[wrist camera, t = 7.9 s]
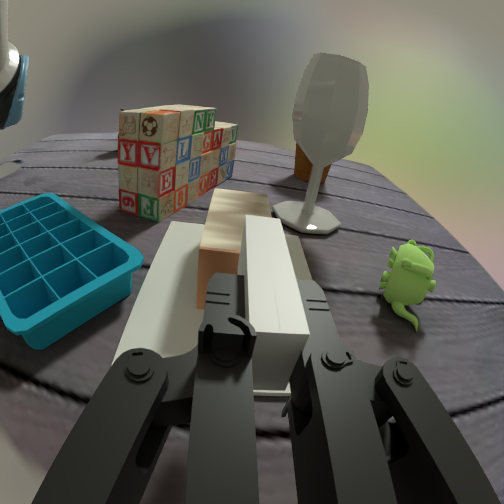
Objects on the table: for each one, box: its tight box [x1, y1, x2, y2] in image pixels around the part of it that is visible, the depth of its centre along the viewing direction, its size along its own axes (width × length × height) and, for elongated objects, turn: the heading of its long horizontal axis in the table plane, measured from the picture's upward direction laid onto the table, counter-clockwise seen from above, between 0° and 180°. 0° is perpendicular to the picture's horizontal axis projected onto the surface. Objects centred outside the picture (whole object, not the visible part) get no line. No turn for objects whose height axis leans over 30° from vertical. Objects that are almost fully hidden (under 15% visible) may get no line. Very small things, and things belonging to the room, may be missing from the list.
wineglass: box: [272, 53, 369, 235], centre depth 32 cm, size 9×9×21 cm
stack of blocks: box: [118, 105, 238, 222], centre depth 37 cm, size 21×6×12 cm, turn 161°
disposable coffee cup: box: [294, 142, 331, 183], centre depth 52 cm, size 10×10×12 cm
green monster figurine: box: [379, 240, 436, 332], centre depth 23 cm, size 6×5×6 cm
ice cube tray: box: [0, 193, 144, 350], centre depth 20 cm, size 12×20×3 cm, turn 58°
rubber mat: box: [111, 221, 313, 396], centre depth 23 cm, size 14×20×1 cm
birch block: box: [196, 188, 272, 310], centre depth 24 cm, size 5×5×11 cm
